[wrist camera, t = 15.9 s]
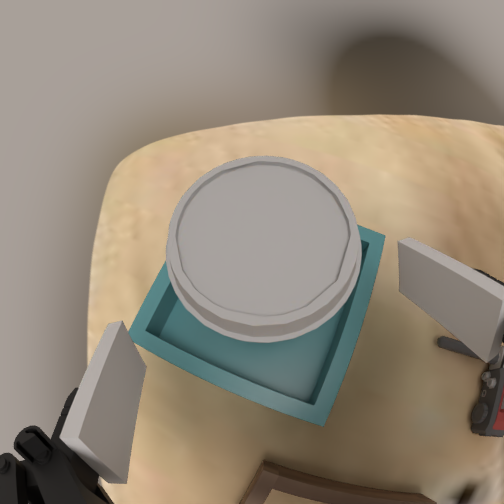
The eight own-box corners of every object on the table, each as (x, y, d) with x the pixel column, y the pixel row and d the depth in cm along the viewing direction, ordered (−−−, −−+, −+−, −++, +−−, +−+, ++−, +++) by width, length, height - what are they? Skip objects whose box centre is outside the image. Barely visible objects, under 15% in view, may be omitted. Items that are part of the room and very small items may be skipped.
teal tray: (220, 200, 29) (215, 177, 26) (372, 254, 26) (385, 235, 22) (143, 344, 23) (125, 337, 20) (315, 420, 20) (323, 426, 17)
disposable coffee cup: (255, 384, 21) (241, 387, 10) (185, 291, 25) (125, 217, 14) (347, 308, 23) (407, 242, 12) (273, 228, 27) (275, 125, 16)
